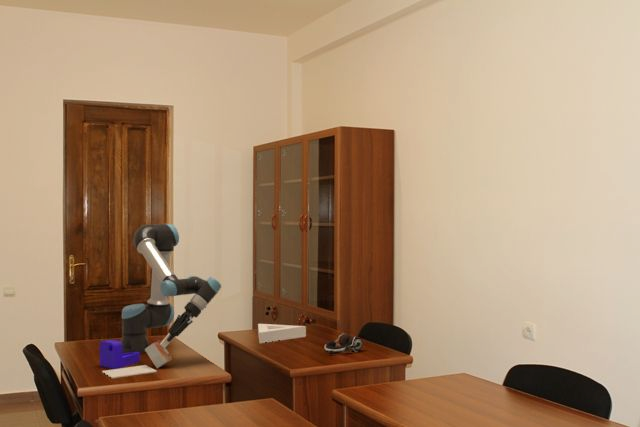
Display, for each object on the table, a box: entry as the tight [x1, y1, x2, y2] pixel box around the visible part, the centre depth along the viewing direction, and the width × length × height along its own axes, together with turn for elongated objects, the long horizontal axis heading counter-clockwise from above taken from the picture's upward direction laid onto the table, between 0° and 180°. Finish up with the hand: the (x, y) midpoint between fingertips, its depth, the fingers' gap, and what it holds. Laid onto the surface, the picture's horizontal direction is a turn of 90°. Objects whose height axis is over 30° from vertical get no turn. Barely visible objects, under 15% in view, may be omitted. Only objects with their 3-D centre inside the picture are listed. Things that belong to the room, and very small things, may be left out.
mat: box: [101, 364, 158, 379], centre depth 322 cm, size 15×20×1 cm
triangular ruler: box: [257, 323, 307, 344], centre depth 400 cm, size 30×26×6 cm
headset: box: [324, 333, 364, 355], centre depth 359 cm, size 17×8×20 cm
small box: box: [145, 339, 173, 369], centre depth 331 cm, size 8×6×10 cm
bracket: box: [99, 339, 141, 370], centre depth 339 cm, size 18×11×12 cm, turn 142°
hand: (162, 346), depth 330 cm, fingers closed
